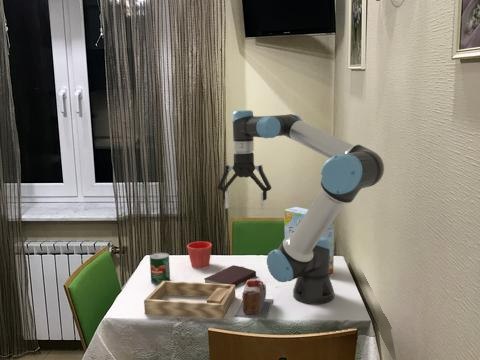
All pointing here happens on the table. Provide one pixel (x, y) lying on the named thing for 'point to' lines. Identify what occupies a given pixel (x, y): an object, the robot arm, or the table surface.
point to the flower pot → (199, 254)
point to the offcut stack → (217, 295)
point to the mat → (262, 315)
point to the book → (231, 276)
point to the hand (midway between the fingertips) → (244, 208)
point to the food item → (253, 296)
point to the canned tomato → (159, 267)
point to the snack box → (292, 221)
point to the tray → (188, 309)
